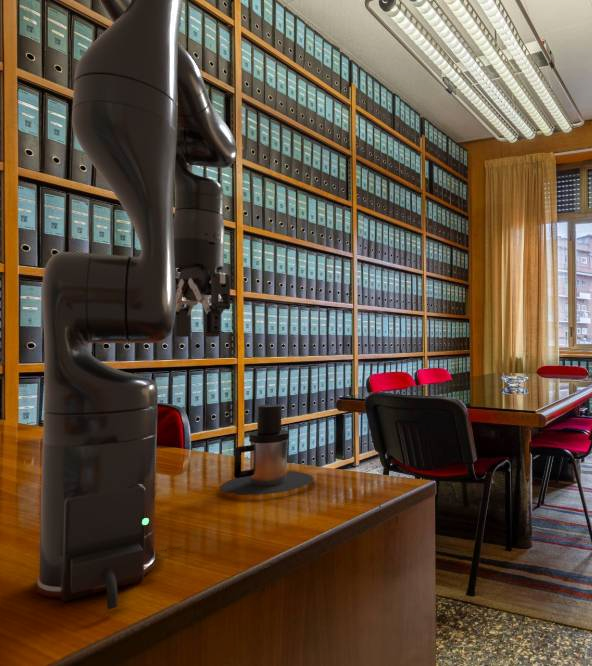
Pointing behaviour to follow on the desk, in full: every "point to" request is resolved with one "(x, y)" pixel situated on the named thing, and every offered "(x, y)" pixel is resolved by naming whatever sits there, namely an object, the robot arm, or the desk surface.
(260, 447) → the steel travel mug
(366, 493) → the desk surface
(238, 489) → the disc
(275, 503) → the desk surface
